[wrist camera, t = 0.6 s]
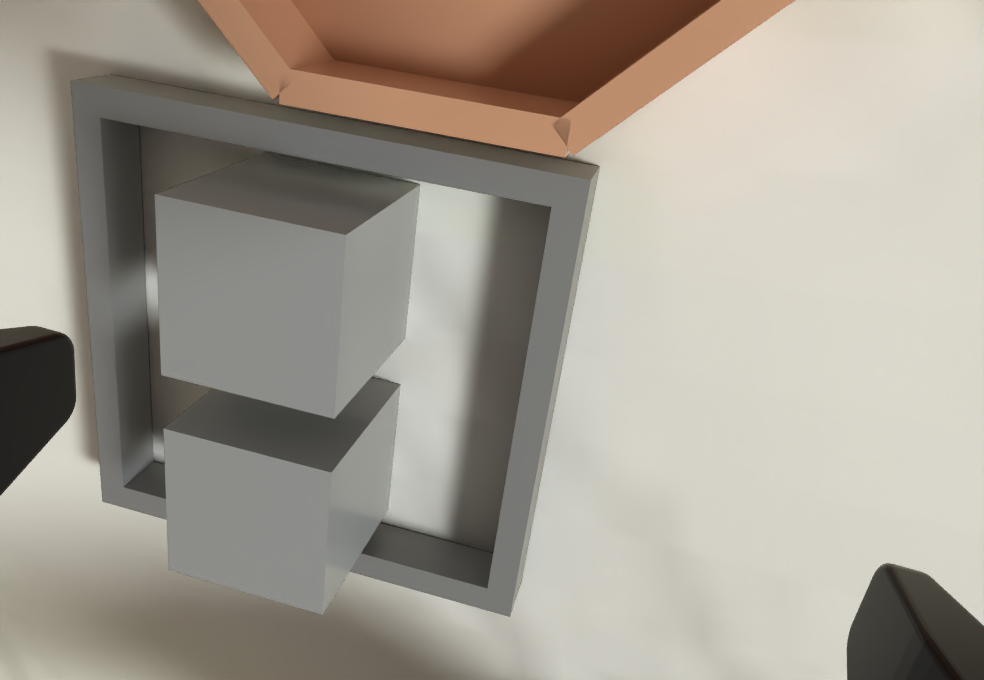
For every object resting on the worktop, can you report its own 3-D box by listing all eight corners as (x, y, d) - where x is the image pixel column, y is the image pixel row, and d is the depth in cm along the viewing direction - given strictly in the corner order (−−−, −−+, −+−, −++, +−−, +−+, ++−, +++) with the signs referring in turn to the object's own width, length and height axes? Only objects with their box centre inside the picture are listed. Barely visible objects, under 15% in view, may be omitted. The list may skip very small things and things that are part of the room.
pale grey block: (389, 508, 27) (322, 615, 22) (258, 473, 27) (168, 570, 23) (401, 383, 25) (331, 472, 20) (260, 349, 25) (163, 428, 21)
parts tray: (521, 582, 26) (509, 616, 25) (133, 475, 29) (102, 501, 27) (599, 166, 21) (591, 180, 19) (110, 74, 23) (70, 80, 22)
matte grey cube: (405, 337, 24) (333, 419, 20) (261, 304, 25) (161, 375, 20) (421, 184, 22) (346, 235, 18) (264, 153, 23) (154, 194, 18)
